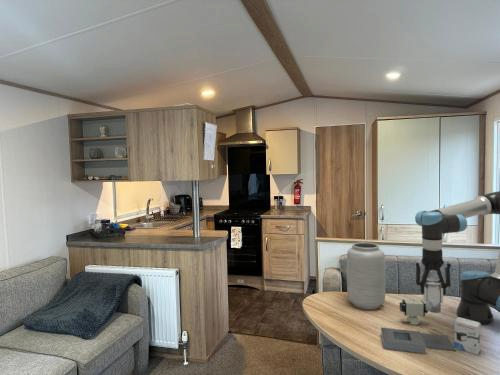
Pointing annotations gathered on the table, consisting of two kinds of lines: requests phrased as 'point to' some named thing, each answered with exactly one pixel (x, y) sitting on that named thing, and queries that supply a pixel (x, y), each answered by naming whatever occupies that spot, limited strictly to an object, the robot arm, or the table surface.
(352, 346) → the table surface
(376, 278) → the vase
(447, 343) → the mat
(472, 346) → the ink box
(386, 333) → the frame
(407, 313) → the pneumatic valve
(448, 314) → the table surface
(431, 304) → the grey bottle
